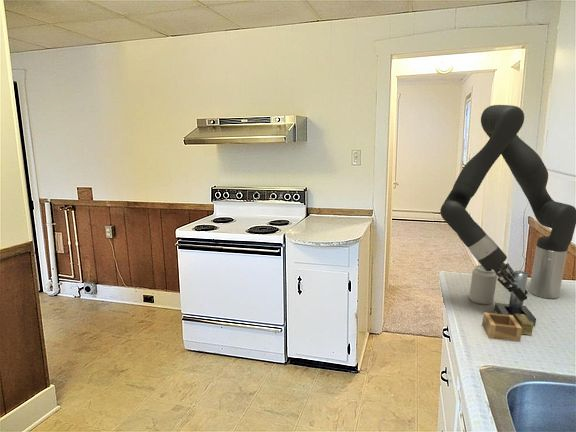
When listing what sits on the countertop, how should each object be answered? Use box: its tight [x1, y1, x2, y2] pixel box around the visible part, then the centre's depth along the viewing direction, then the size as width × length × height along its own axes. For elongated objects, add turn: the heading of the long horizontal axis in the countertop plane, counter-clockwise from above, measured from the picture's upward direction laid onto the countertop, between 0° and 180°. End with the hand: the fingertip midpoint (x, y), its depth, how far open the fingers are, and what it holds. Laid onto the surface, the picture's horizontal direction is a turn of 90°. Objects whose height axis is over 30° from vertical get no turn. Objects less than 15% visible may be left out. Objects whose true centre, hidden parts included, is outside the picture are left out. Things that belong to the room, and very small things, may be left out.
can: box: [468, 264, 498, 306], centre depth 139 cm, size 8×8×12 cm
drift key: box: [514, 313, 534, 336], centre depth 121 cm, size 7×3×4 cm, turn 169°
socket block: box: [493, 302, 537, 327], centre depth 128 cm, size 9×9×2 cm
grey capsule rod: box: [508, 270, 529, 314], centre depth 126 cm, size 4×4×15 cm
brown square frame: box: [481, 311, 522, 342], centre depth 119 cm, size 8×8×4 cm
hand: (524, 297), depth 125 cm, fingers closed on grey capsule rod, 3 cm apart
